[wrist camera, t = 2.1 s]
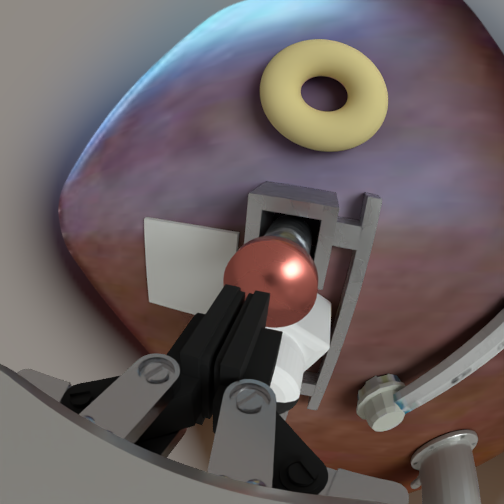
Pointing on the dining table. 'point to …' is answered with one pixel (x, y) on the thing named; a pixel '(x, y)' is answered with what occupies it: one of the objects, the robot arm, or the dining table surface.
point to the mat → (186, 263)
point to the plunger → (278, 270)
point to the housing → (320, 255)
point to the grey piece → (427, 379)
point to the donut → (314, 121)
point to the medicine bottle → (300, 352)
